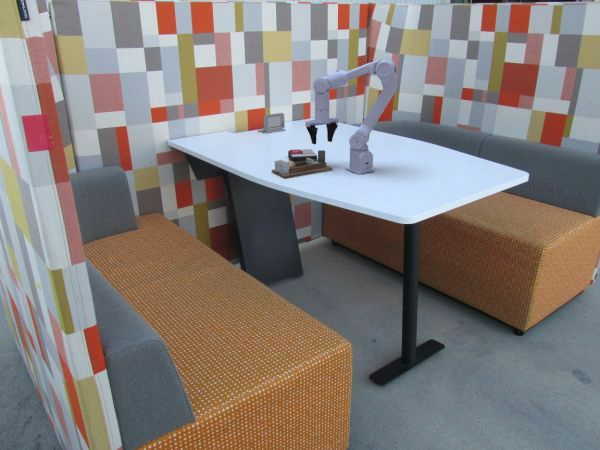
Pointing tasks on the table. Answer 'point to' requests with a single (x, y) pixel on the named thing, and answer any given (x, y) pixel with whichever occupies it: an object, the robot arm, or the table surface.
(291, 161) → the ball
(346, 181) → the table surface
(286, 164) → the anvil
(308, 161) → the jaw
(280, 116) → the handheld gaming console
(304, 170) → the base
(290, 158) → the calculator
